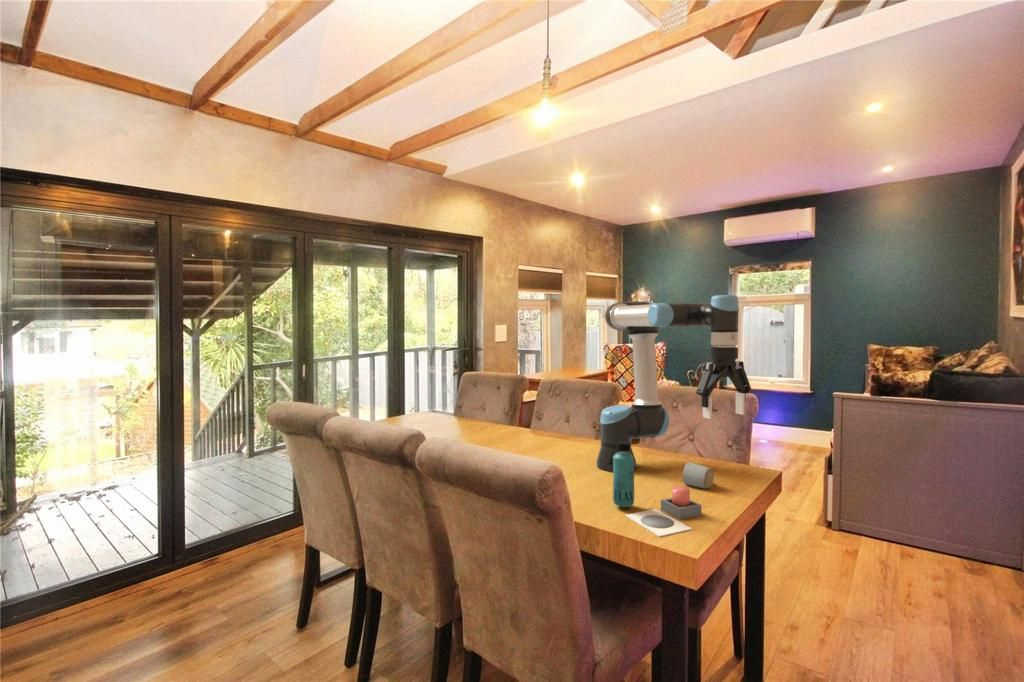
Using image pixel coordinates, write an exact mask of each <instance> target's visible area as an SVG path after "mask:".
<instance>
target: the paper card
mask: <svg viewBox="0 0 1024 682" xmlns="http://www.w3.org/2000/svg"><path fill="white" fill-rule="evenodd" d="M624 517H626V518H627V519H629V520H631V521H632V522H634V523H635V524H638V525H639V526H640V527H642V528H643V529H645V530H647V531H648V532H650V533H652V534H653V535H655V536H657V537H658V538H661V537H666V536H669V535H670V536H671V535H675V534H679V533H684V532H689V531H692V530H693V528H692V527H690V526H688V525H686V524H684V523H682V522H681V521H680V520H678V519H676V518H673V517H672V516H671V515H670V516H669V514H668V515H667V513H665V512H663V511H661V510H658V509H656V508H654V509H649V510H645V511H638V512H634V513H629V514H625V515H624Z"/></svg>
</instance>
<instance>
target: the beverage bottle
mask: <svg viewBox="0 0 1024 682" xmlns="http://www.w3.org/2000/svg"><path fill="white" fill-rule="evenodd" d="M616 449H617V450H620V451H629V450H630V443H629V442H624V441H621V442H617V447H616ZM634 457H635V456H634ZM634 457H633V456H632V455H631V454H630V453H628V452H618V453H616V454H615V455H614V456H613V472H612V473H613V474H612V475H613V478H612V479H613V481H612V501H613V504H614V505H615V506H619V507H627V508H628V507H631V506H633V505H634V504H635V469H634Z"/></svg>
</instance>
